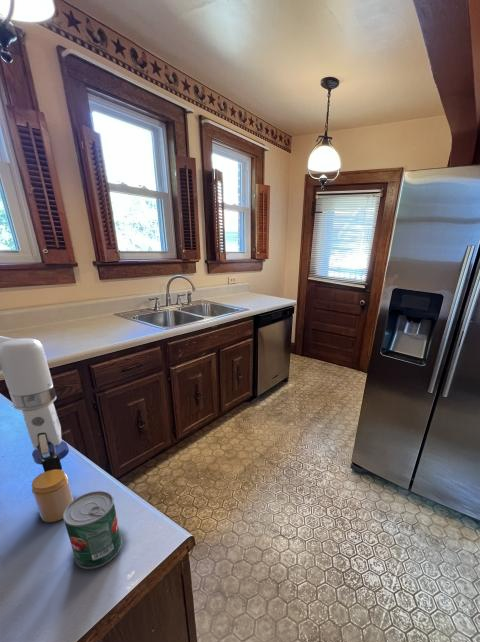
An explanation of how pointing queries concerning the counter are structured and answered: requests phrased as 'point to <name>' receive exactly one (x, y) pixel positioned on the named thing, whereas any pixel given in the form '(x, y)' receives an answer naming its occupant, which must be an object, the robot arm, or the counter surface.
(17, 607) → the counter surface
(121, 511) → the counter surface
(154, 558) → the counter surface
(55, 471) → the jam jar
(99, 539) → the canned tomato
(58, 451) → the jar lid
